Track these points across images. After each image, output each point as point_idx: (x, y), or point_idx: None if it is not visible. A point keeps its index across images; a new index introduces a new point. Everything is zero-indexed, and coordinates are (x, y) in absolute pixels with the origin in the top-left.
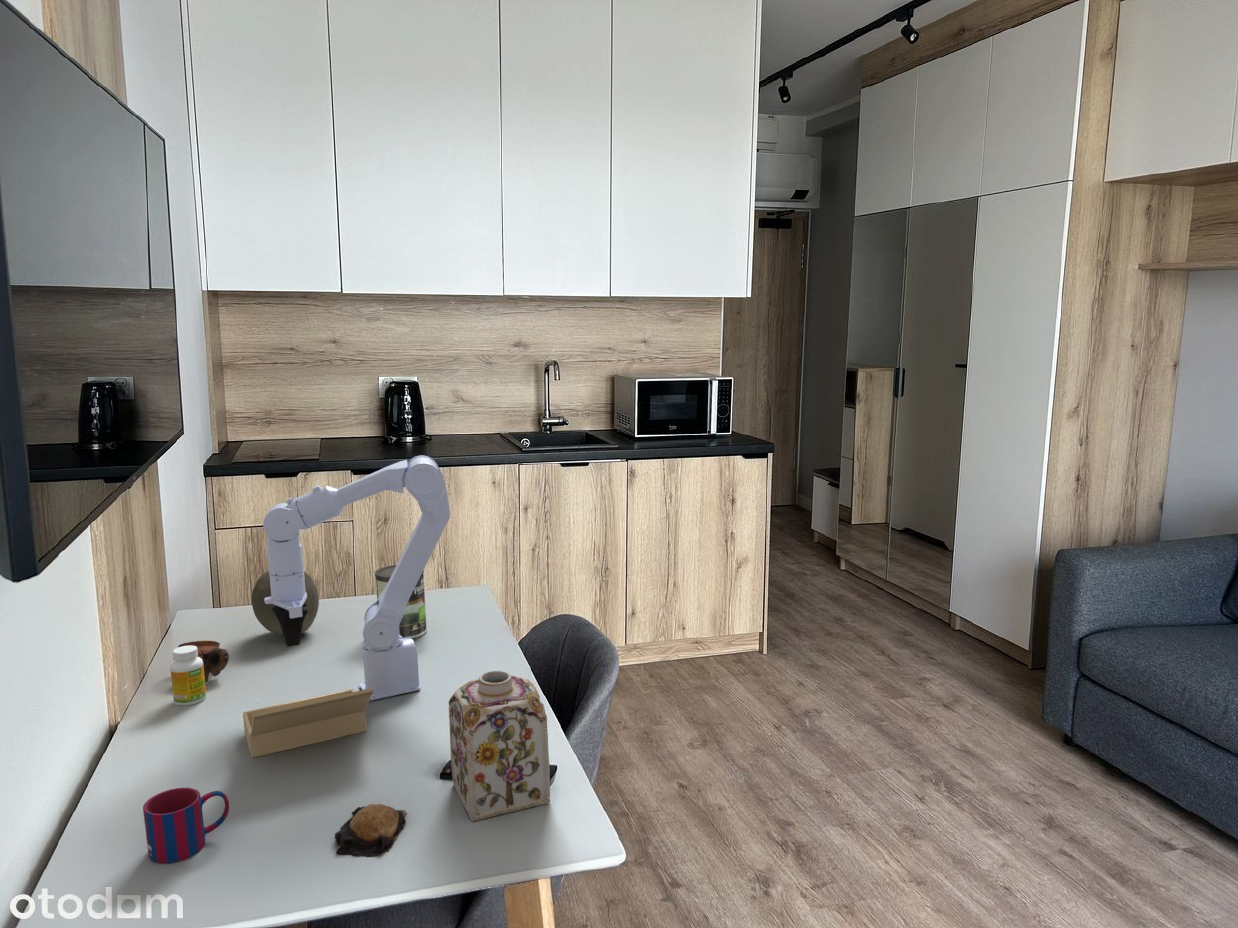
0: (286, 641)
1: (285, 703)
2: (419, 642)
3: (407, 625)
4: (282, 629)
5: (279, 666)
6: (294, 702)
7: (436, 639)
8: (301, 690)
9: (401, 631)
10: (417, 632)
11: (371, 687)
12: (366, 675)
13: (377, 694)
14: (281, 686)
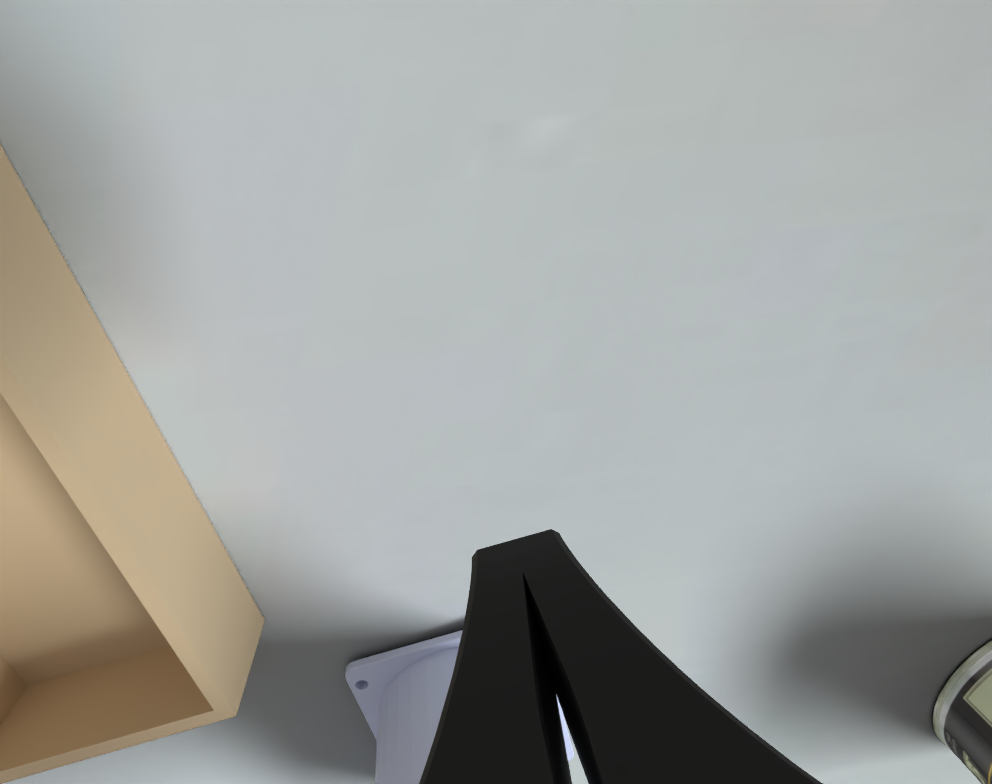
0: (472, 598)
1: (32, 407)
2: (883, 740)
3: (990, 767)
4: (424, 773)
5: (984, 209)
6: (48, 461)
7: (876, 781)
8: (583, 368)
9: (975, 727)
10: (953, 751)
11: (396, 701)
12: (425, 732)
13: (384, 693)
14: (683, 254)
